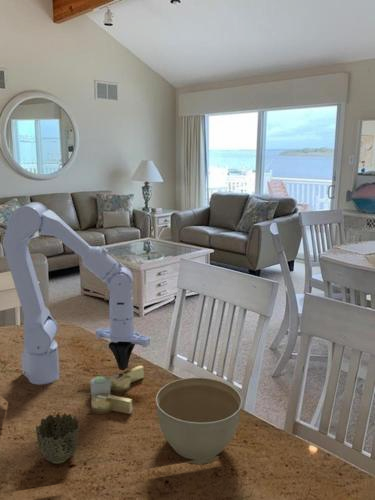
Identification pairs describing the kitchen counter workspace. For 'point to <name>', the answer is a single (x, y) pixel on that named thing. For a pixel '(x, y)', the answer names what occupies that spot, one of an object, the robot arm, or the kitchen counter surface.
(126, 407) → the front knob
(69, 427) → the cup
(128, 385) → the back knob
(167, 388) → the planter bowl
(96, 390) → the plate
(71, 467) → the kitchen counter surface
